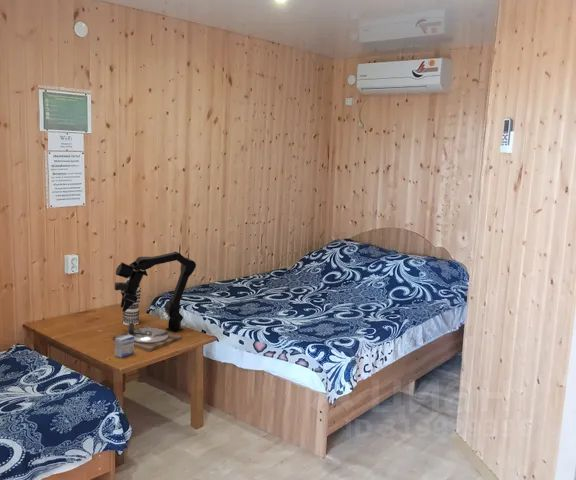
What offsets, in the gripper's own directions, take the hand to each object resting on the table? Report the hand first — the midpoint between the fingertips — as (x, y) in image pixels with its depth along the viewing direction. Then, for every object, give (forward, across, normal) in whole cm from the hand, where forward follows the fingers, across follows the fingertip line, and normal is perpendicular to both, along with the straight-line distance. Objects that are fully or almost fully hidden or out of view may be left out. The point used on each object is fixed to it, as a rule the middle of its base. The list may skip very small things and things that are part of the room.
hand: (122, 309), depth 289 cm
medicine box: (+15, +25, +4) cm, 29 cm away
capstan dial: (+7, +7, +16) cm, 19 cm away
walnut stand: (+9, +6, +17) cm, 20 cm away
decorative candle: (+9, -20, +11) cm, 24 cm away
